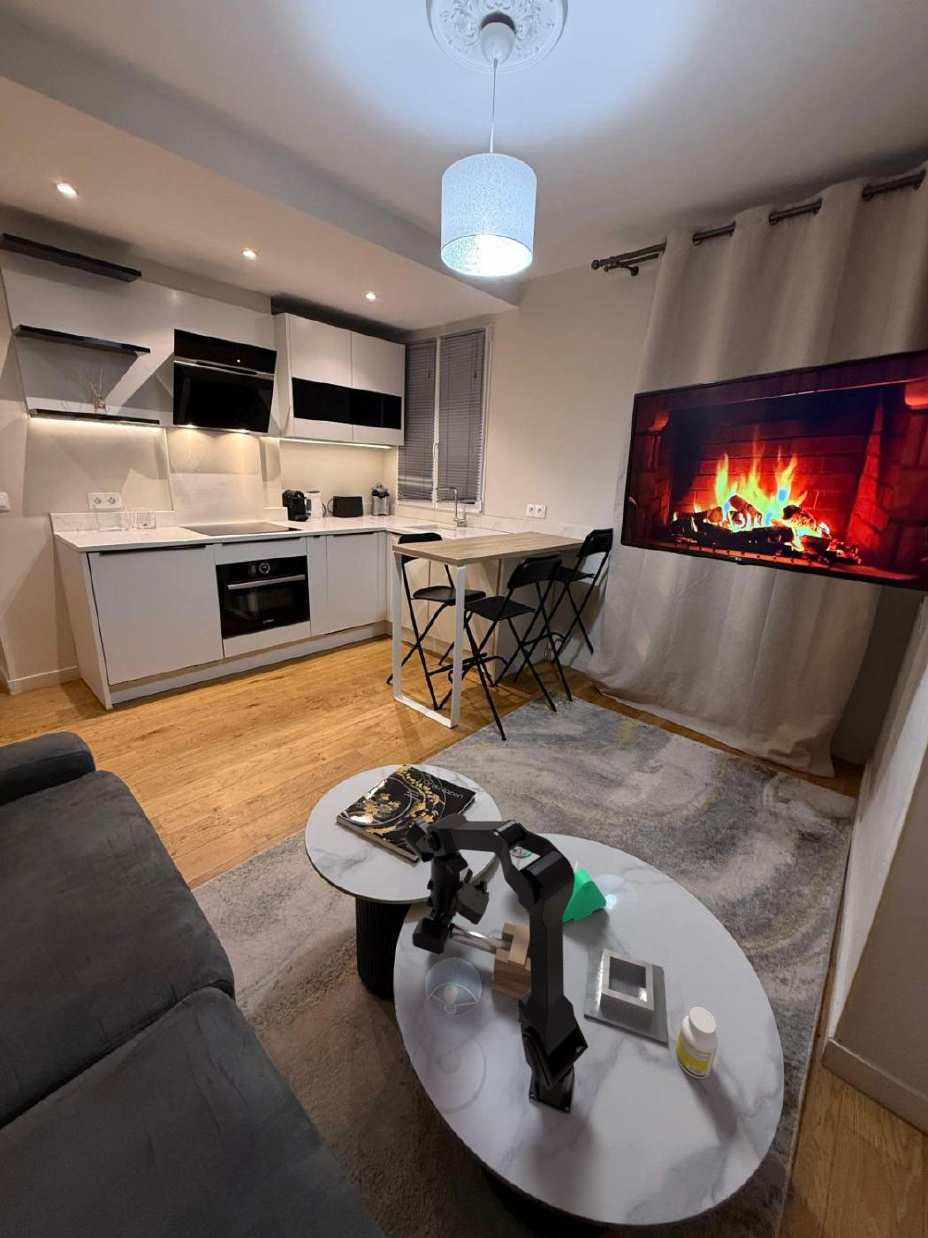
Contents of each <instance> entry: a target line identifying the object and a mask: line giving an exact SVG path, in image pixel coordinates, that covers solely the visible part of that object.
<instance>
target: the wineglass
mask: <svg viewBox="0 0 928 1238" xmlns="http://www.w3.org/2000/svg"><path fill="white" fill-rule="evenodd" d="M525 829H526V830H528V831H530V832H532V831H531V830H529V829H528V828H525ZM532 854H533V853H532V852H530V851H527V850H525V849H523V848H521V847H520V846H517V847H515V848H514V849H512V850H511V851H510V855H511V858H513V859H515V860H516V866H515V867H516V868H517V869H518V870H520V863H521V862H520V861H522V860H526V859H528V858H530V857H531V856H532Z"/></svg>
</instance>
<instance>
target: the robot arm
mask: <svg viewBox="0 0 928 1238" xmlns="http://www.w3.org/2000/svg"><path fill="white" fill-rule="evenodd" d="M526 829H527V828H525V827H524V825H523V824H521V822H519V820H517V819H508V820H468V819H467V816H466V815H463V814H459V813H455V812H453V813H451V814H449V815H446V816H445V817H442V818H440V819H439V820H437V821H435V822H433V823H431V824H429V823H428V821H427V820H426V819H425V818H424V817H423V816H422V815H421V816H420V817H417V818H415V819H413V823H412V825H411V826H409V829H408V830H407V832H406V833H405V834H406V835H405V836H404V841H405V844H406V845H407V846H408V848H410V849H411V850H412V851H413V853H414V854H415V855H416V856H417V857H418V858H419V859H420V860H421V862H422V863H424V864H425V863H428V862H430V878H429V879H428V882H427V884H426V890H429V891H430V895H429V897H428V899H427V901H426V906H427V907H429V908H432V909H431V911H430V914H426V915H425V917H421V918H420V919H419V920H418V922H417V924H416V926H415V927H414V930H413V932H412V934H411V937H412V938H411V942H412V946H413V947H415V948H418V949H421V950H424V951H426V952H430V953H433V954H436V955H438V956H440V955H442V954H444V953H445V950H446V948H447V945H448V943H449V941H450V940H449V936H450V935H451V933H452V931H453V928H454V926H455V924H456V923H454V922H453V918H455V917H456V916H457V914H458V915H460V916H461V917H462V918H464V919H466V920H467V921H469V922H470V923H471V924H472V925H474V926H475V925H479V923H480V922H481V920H482V918H483V916H484V915H485V913H486V911H487V907H488V904H489V901H490V897H489V896H490V892H489V891H487V890H488V882H487V880H485V879H484V878H482V877H480V878H478V879H476V880H475V879H474V881H473V878H474V871H473V870H472V869H471V868H470V867H469V863H468V861H467V860H466V859H465V858H464V856H462V853H461V850H463V851H475V852H486V853H488V852H489V853H493V854H495V855H496V857H498V858H499V860H500V865H501V869H502V874H503V878H504V881H505V882H506V883H507V885H508V886H509V887H510V889H512V890H513V892H514V893H515V894H516V895H517V900H518V903H519V905H520V906H521V907H522V908H523V909H524V911H525V912H526V913H527V915H528V921H529V922H528V923H529V925H528V927H529V930H530V964H531V989H530V990H529V991H528V992H527V993H525V994H524V995H523V996H522V997H521V998H520V999H518V1001H517V1010H518V1018H517V1022H518V1023H519V1024H520V1033H521V1034H520V1035H521V1040H522V1047H523V1052H524V1057H525V1063H526V1064H527V1065H528V1066H529V1067H530V1069H531V1070H530V1071H531V1076H530V1082H529V1089H528V1098H529V1099H530V1100H532V1101H535V1102H538V1103H540V1104H543V1105H545V1106H547V1107H548V1108H552V1109H554V1110H557V1111H559V1112H561V1113H564V1114H566V1115H568V1114H569V1115H570V1113H571V1111H572V1110H571V1108H572V1099H573V1089H574V1080H575V1079H574V1078H575V1067H574V1064H575V1063H576V1061H577V1060H578V1059H579V1058H580V1057H581V1056H582V1055H583V1054H584V1053H585V1052H586V1051H587V1050H588V1049H589V1045H588V1043H587V1041H586V1038H585V1036H584V1033H583V1031H582V1029H581V1027H580V1025H579V1023H578V1019H577V1018H576V1016H575V1011H574V1005H573V1003H572V1002H571V1001H570V1000H569V998H568V997H566V995H565V993H564V992H565V991H564V989H565V988H564V927H563V926H564V925H563V924H564V922H563V914H564V912H565V910H566V908H567V906H568V904H569V902H570V900H571V898H572V894H573V888H574V882H575V876H574V873H575V870H574V868H573V866H572V864H571V862H570V860H569V859H568V858H567V857H566V856H565V855H564V854H563V853H562V852H561V851H560V850H559V848H557V846H556V845H554V844H553V842H551V841H550V840H549V839H548V838H546V837H544V836H541V835H539V834H536V833H534V832H532V831H531V830H529V829H527V830H526ZM528 830H529V831H528ZM530 831H531V832H530ZM517 846H520V847H521V848H523V849H525V850H527V851H530V852H532V854H534V855H537V856H538V857H537V858H536V859H535V858H534V860H532V861H530V862H529V863H528V864H526V865H525V866H523V867H522V868H519V870H518V869H517V868H516V867H517V866H516V865H515V864H514V863H513V859H512V856H511V855H510V851H511V850H512V849H514V848H515V847H517ZM531 1094H532V1095H531Z"/></svg>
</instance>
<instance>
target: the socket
mask: <svg viewBox="0 0 928 1238" xmlns="http://www.w3.org/2000/svg"><path fill="white" fill-rule="evenodd" d="M588 953H589V955H588V964H587V965H588V966H587V975H586V984H585V985H586V988H585V998H584V1009H583V1017H585V1018H588V1019H592V1020H594V1021H596V1022H599V1023H602V1024H605V1025H608V1026H610V1027H611V1026H612V1027H613V1028H616V1029H619V1030H623V1031H625V1032H628V1033H631V1034H634V1035H637V1036H640V1037H642V1038H645V1039H648V1040H650V1041H654V1042H656V1043H658V1044H662V1045H665V1046H667V1045H668V1033H667V1032H668V1031H667V1030H668V1028H667V1014H666V1012H667V1011H666V999H665V996H666V995H665V983H664V981H665V979H664V968H663V967H662V966H660V965H656V964H653V962H652V963H651V962H648V961H645V960H641V959H638V958H636V957H632V956H629V955H626V954H622V953H619V952H616V951H613V950H610V949H606V948H602V947H599V946H595V945H592V944H590V945H589V952H588Z"/></svg>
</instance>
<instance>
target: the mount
mask: <svg viewBox="0 0 928 1238" xmlns="http://www.w3.org/2000/svg"><path fill="white" fill-rule="evenodd" d="M501 939H502V940H505V941H508V942H511V943H512V945H511V949H510V952H508V951H505V950H502V949H499V948H497V951H496V955H495V956H494V961H493V973H492V976H491V977H492V978H491V986H490V987H491V988H490V989H491V990H493V991H496V992H499V993H503V994H504V995H507V996H511V997H513V998H516V999H518V1000H519V999H520V998H521V997H522V996H523V995H524V994H525V993H527V992H528V991H529V990H530V989H531V964H530V930H529V925H525V924H521V923H519V922H517V923H516V925H515V924H511V923H509V922H506V921H505V922H503V927H502V930H501Z"/></svg>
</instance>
